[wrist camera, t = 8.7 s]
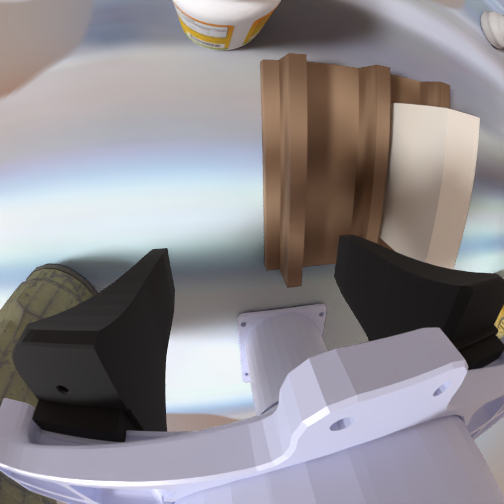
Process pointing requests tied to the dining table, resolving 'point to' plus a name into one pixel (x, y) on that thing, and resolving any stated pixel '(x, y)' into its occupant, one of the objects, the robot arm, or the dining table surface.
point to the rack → (327, 155)
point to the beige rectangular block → (428, 181)
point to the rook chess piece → (493, 28)
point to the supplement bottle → (223, 21)
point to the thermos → (9, 331)
